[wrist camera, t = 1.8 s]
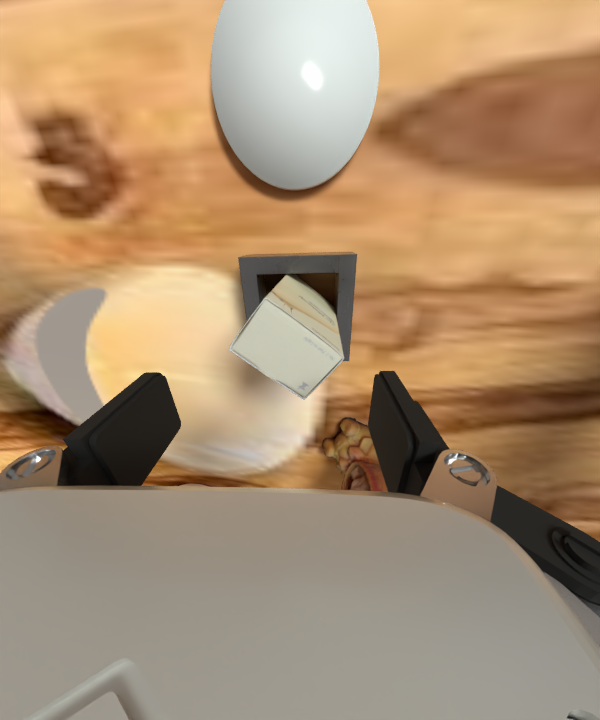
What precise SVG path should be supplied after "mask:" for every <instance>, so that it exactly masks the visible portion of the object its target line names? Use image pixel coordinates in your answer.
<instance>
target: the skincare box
mask: <svg viewBox="0 0 600 720" xmlns="http://www.w3.org/2000/svg"><path fill="white" fill-rule="evenodd" d="M229 349H230V351H231V352H233V353H234V354H236V355H237V356H239V357H240V358H241V359H243V360H244V361H246V362H247V363H249V364H250V365H252V366H253V367H255V368H256V369H257V370H259V371H260V372H262V373H263V374H265V375H266V376H268V377H269V378H271V379H272V380H274V381H275V382H277V383H278V384H280V385H282V386H283V387H285V388H286V389H288V390H289V391H291V392H292V393H294V394H296V395H297V396H299V397H300V398H301V399H303V400H305V399H306V398H307V397H308V396H309V395H310V394H311V393H312V392H313V391H314V390H315V389H316V388H317V387H318V386H319V385H320V384H321V383H322V382H323V381H324V380H325V379H326V378H327V377H328V376H329V375H330V374H331V373H332V372H333V371H334V370H335V369H336V368H337V367H338V365H339V364H340V363H341V362H342V361H343V360H344V354H343V350H342V344H341V339H340V334H339V328H338V323H337V318H336V312H335V307H334V306H333V305H332V304H330V303H329V302H328V301H327V300H326V299H325V298H324V297H322V296H321V295H320V294H319V293H318V292H316V291H315V290H314V289H313V288H312V287H310V286H309V285H308V284H307V283H305V282H304V281H303V280H302V279H301V278H299V277H298V276H297V275H296V274H286V275H285V276H284V277H283V279H282V280H281V281H280V282H279V283H278V284H277V285H276V286H275V287H274V288H273V289H272V291H271V292H270V293H269V294H268V295H267V296H266V297H265V298H264V299H263V301H262V302H261V303H260V305H259V306H258V307H257V309H256V310H255V311H254V313H253V314H252V315H251V317H250V318H249V319H248V321H247V322H246V323H245V325H244V326H243V328H242V329H241V330H240V332H239V333H238V335H237V336H236V338H235V339H234V341H233V342H232V344H231V345H230V347H229Z"/></svg>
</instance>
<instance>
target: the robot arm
mask: <svg viewBox="0 0 600 720" xmlns="http://www.w3.org/2000/svg"><path fill="white" fill-rule="evenodd" d="M180 427H181V421H180V418H179V415H178V412H177V409H176V406H175V403H174V400H173V397H172V394H171V391H170V388H169V385H168V382H167V379H166V377H165V376H163V375H162V374H161V373H144V374H143V375H141V376H140V377H139V378H138V379H137V380H135V381H134V382H133V383H132V384H130V385H129V386H128V387H127V388H125V389H124V390H123V391H122V392H121V393H119V394H118V395H117V396H116V397H114V398H113V399H112V400H111V401H109V402H108V403H107V404H106V405H105V406H103V407H102V408H101V409H100V410H99V411H97V412H96V413H95V414H94V415H92V416H91V417H90V418H89V419H87V420H86V421H85V422H84V423H82V424H81V425H80V426H79V427H78V428H76V429H75V430H74V431H73V432H71V433H70V434H69V435H68V436H67V437H65V438H64V439H63V440H64V442H65V443H66V445H67V446H68V447H67V448H66V449H65V450H64V451H63V450H62V448H60V447H59V446H47V447H43V448H39V449H36V450H34V451H31V452H29V453H27V454H25V455H23V456H21V457H19V458H18V459H16V460H15V461H13V462H12V463H10V464H9V465H8V466H7V467H6V468H5V469H3V470H2V472H1V473H0V720H600V542H598V541H597V540H595V539H594V538H592V537H591V536H589V535H587V534H586V533H584V532H582V531H581V530H579V529H577V528H575V527H573V526H571V525H570V524H568V523H566V522H564V521H562V520H560V519H558V518H557V517H555V516H553V515H551V514H549V513H547V512H546V511H544V510H542V509H540V508H538V507H536V506H535V505H533V504H531V503H529V502H527V501H525V500H523V499H522V498H520V497H518V496H516V495H514V494H512V493H511V492H509V491H507V490H505V489H503V488H501V487H499V486H498V485H497V477H496V475H495V473H494V471H493V470H492V469H491V467H490V466H489V465H488V464H487V463H485V462H484V461H483V460H482V459H480V458H479V457H477V456H475V455H473V454H471V453H469V452H466V451H463V450H457V449H449V448H448V446H447V445H446V443H445V442H444V440H443V439H442V437H441V436H440V434H439V433H438V431H437V430H436V428H435V427H434V425H433V424H432V422H431V421H430V419H429V418H428V416H427V415H426V413H425V412H424V410H423V409H422V407H421V406H420V404H419V403H418V402H417V401H413V399H412V398H411V396H410V395H409V393H408V392H407V390H406V388H405V387H404V385H403V384H402V382H401V381H400V379H399V377H398V376H397V374H396V373H395V372H394V371H380V372H379V374H376V375H375V377H374V384H373V392H372V399H371V407H370V414H369V421H368V427H369V432H370V435H371V438H372V441H373V445H374V448H375V451H376V454H377V458H378V461H379V464H380V467H381V471H382V474H383V477H384V480H385V484H386V487H387V490H388V492H381V491H360V490H335V489H294V488H246V487H185V486H141V485H142V484H143V482H144V481H145V479H146V478H147V476H148V475H149V473H150V472H151V470H152V469H153V467H154V466H155V465H156V463H157V462H158V460H159V459H160V457H161V456H162V454H163V453H164V451H165V450H166V448H167V447H168V445H169V444H170V443H171V441H172V440H173V438H174V437H175V435H176V434H177V432H178V431H179V429H180Z"/></svg>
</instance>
